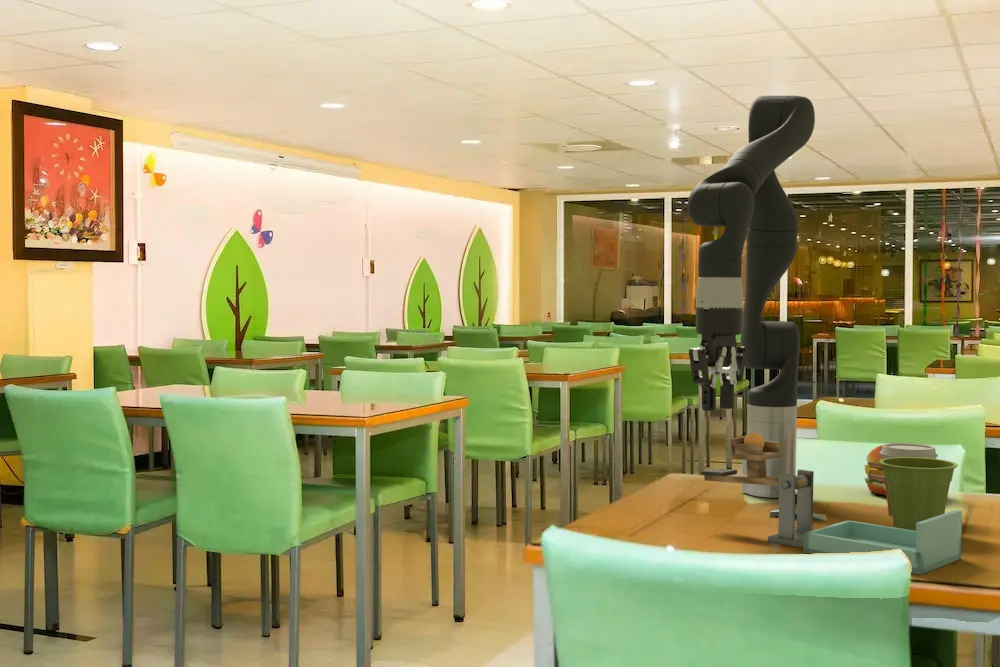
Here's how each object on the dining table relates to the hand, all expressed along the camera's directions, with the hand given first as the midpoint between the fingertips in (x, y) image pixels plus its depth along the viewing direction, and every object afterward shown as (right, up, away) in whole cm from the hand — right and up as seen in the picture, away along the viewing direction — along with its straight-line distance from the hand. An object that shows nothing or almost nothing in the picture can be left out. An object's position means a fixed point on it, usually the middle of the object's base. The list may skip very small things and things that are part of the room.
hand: (717, 409), depth 180 cm
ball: (+5, -5, -5) cm, 8 cm away
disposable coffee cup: (+35, -20, +12) cm, 42 cm away
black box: (+16, -20, +10) cm, 27 cm away
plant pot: (+32, -20, -2) cm, 38 cm away
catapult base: (+10, -20, -10) cm, 24 cm away
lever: (+5, -12, -5) cm, 14 cm away
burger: (+42, -19, +32) cm, 56 cm away
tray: (+20, -20, -19) cm, 34 cm away
